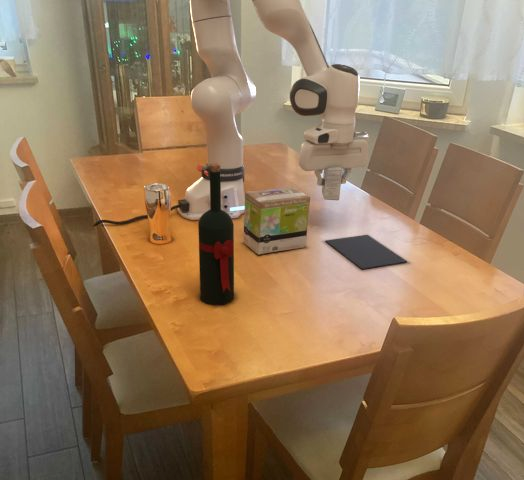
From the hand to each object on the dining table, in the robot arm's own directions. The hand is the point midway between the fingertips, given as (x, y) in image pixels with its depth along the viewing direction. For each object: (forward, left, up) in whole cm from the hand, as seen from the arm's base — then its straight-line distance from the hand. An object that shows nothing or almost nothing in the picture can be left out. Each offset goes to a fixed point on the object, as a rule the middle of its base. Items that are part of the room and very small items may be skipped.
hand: (331, 184), depth 154 cm
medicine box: (0, 0, -4) cm, 4 cm away
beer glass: (-48, +10, -15) cm, 51 cm away
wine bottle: (-44, -29, -15) cm, 55 cm away
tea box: (-19, -4, -15) cm, 24 cm away
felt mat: (+3, -16, -14) cm, 22 cm away
